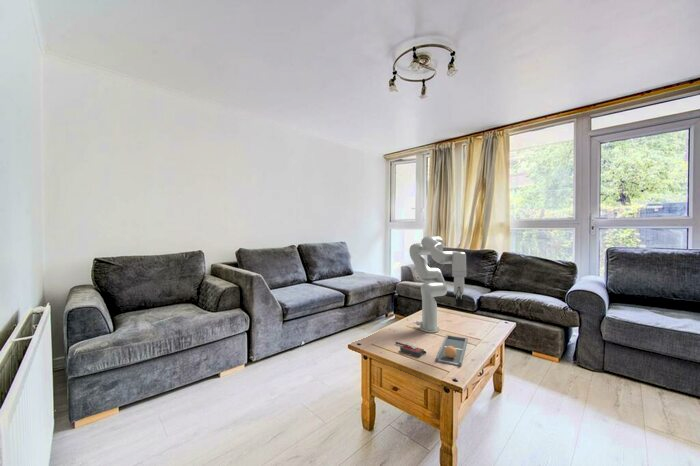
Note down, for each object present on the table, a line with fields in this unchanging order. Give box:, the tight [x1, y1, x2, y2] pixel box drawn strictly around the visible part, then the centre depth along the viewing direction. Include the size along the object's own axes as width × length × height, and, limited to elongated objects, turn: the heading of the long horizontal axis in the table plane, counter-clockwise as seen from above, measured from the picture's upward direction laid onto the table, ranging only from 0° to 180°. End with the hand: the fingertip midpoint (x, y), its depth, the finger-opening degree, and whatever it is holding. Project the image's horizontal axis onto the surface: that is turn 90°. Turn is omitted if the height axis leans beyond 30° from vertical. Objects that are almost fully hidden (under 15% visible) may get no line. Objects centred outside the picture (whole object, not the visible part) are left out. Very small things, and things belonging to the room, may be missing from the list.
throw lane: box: [435, 334, 468, 367], centre depth 160 cm, size 12×35×2 cm, turn 153°
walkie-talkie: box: [395, 341, 427, 358], centre depth 160 cm, size 9×4×20 cm
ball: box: [444, 346, 457, 358], centre depth 151 cm, size 6×6×6 cm
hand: (459, 304), depth 162 cm, fingers open, 9 cm apart
